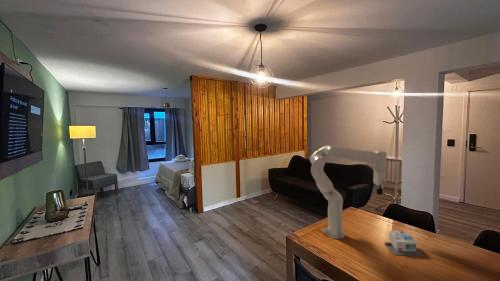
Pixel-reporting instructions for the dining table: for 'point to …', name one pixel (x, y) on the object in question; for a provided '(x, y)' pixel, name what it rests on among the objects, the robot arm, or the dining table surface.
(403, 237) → the light bulb box
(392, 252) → the mat
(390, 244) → the rail
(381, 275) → the dining table surface
